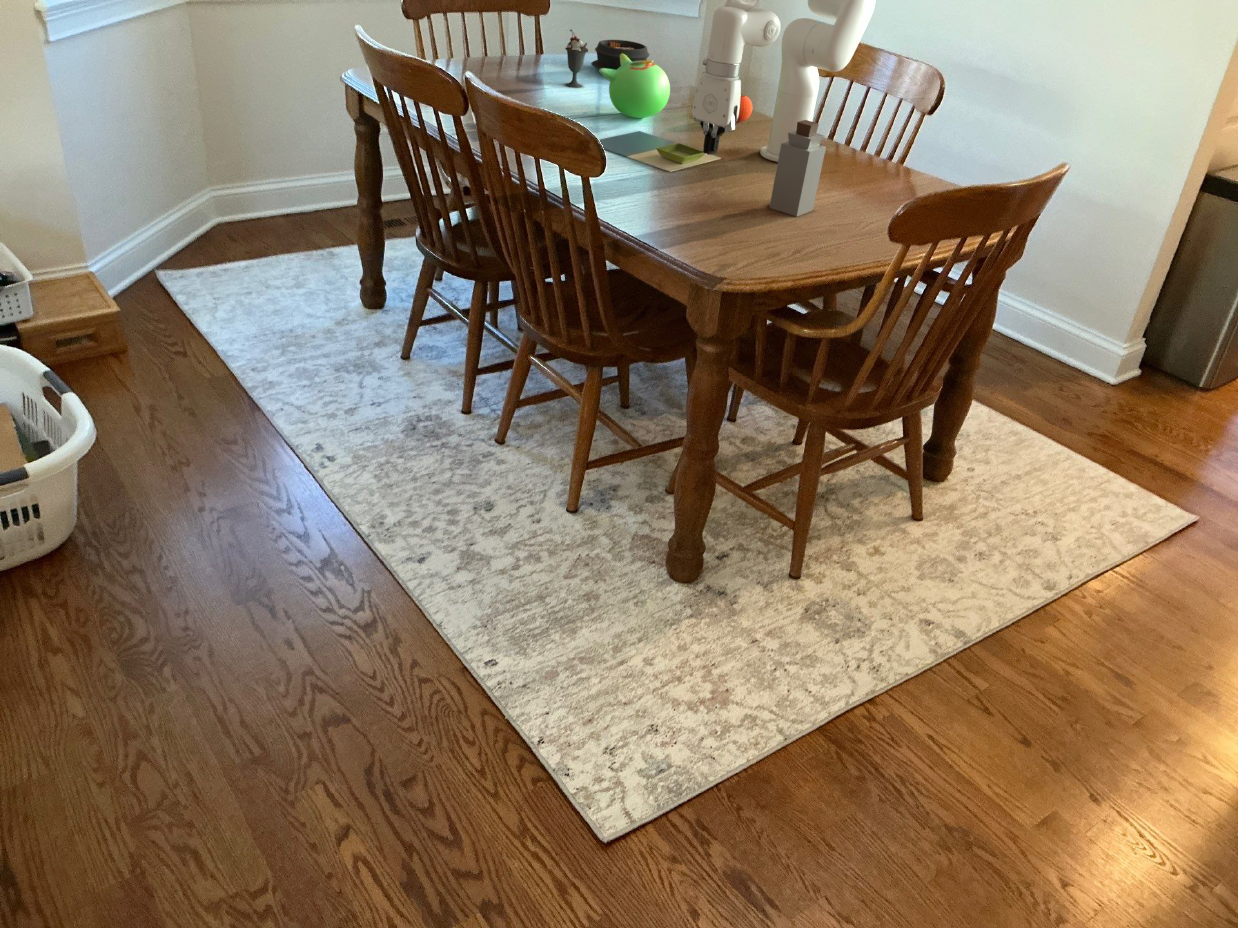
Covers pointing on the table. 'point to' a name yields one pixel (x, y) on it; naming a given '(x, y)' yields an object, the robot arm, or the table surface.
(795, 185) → the perfume bottle
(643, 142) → the placemat
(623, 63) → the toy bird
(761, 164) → the table surface
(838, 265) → the table surface
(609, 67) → the casserole
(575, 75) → the sundae
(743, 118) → the clementine
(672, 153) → the green square dish
